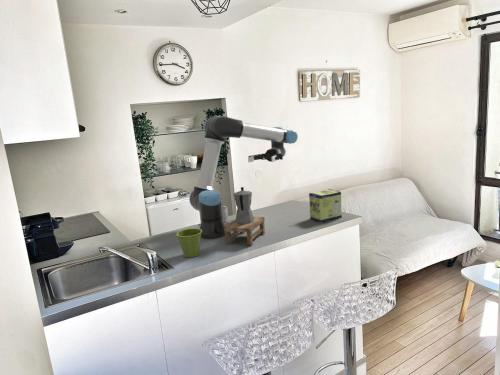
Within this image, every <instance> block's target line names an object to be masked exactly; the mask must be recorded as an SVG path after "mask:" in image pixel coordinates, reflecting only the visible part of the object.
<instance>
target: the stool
mask: <svg viewBox="0 0 500 375" xmlns="http://www.w3.org/2000/svg"><path fill="white" fill-rule="evenodd" d="M253 219H254V221H253V222H252V223H248V224H238V223H237V222H236V218H235V219H234V220H232V221H231V222H229V223H228V224H226V225H225V227H224V231H225V235H224V236H225V245H228V246H229V245H230V246H231V244H232V238H233V237H235V236H236V235H237V234H245V233H246V243H247V244H246V245H247V246H248V247H252V246H253V243H254V242H253V240H254V239H255V238H256V237H257V236H258V235H263V236H264V235H265V234H266V231H265V230H266V229H265V227H266V226H265V216H253ZM258 227H259V228H258ZM257 228H258V229H257ZM255 229H257V230H256V231H255ZM253 231H255V232H254V233H253ZM231 232H232V233H231Z"/></svg>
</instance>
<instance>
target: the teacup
mask: <svg viewBox="0 0 500 375" xmlns="http://www.w3.org/2000/svg"><path fill="white" fill-rule="evenodd" d="M228 212H229V211H228V206H226V205H223V206H222V216H223V221H224V222H225V221H226V220H228V217H229V213H228Z"/></svg>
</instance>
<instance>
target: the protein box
mask: <svg viewBox="0 0 500 375" xmlns="http://www.w3.org/2000/svg"><path fill="white" fill-rule="evenodd" d="M308 198H309V216H310V217H309V218H310V220H313V221H315V222H318V223H326V222H329V221H334V220H337V219H341V218H342V217H343V216H342V215H343V214H342V213H343V212H342V211H343V210H342V191H339V190H334V189H330V188H328V189H324V190H318V191H315V192H314V191H313V192H309V193H308Z"/></svg>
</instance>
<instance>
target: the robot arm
mask: <svg viewBox="0 0 500 375" xmlns="http://www.w3.org/2000/svg"><path fill="white" fill-rule="evenodd" d="M203 131H204V137H203V138H204V140H205V148H204V151H203V157H202V162H201V166H200V171H199V174H198V175H199V176H198V180H197V183H196V184H194V187H193V191H191V193H190V194H189V204H190V206H191V207H192V208H193V209H194V210H196V211H199V213H200V221H201V222H200V226H199V229H201V230H202V232H201V237H200V238H202V239H217V238H222V237H224V236H225V231H224V227H225V226H226V223H225V221H223V216H222V207H223V206H222V196H221V193H220V192H219V191H218V190H216V189H215V188H214V180H215V177H216V171H217V169H218V168H217V166H218V163H219V157H220V153H221V149H222V148H221V147H222V145H223V144H225V142H226V139H227V138H237V139H240V138H248V139H256V140H263V141H264V140H265V141H270V142H271V148H268V149H267V150H266V151H265V152H263V153H258V154H253V155H252V154H251V155H248V156H247V160H248V161H247V162H248V163H253V162H255V161H257V160H262V161H264V160H265V161H268V162H271V163H273V162H276V161H280V160H284V159H283V158H284V157H285V156H286V152H287V150H286V148H285V147H284V146H285V145H284V144H290V145H291V144H295V143H296V142H297V141H298V138H299V137H298V136H299V135H298V132H297V131H295V130H292V129H289V130H288V129H284V128H283V127H282V126H273V127H271V126H265V125H260V124H259V125H258V124H253V123H249V122H248V123H247V122H244V121H243V120H240V119H236V118H232V117H229V116H225V115H224V116H223V115H222V116H212V117H210V118H208V119H207V120H206V121H205V122H204V125H203Z"/></svg>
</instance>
